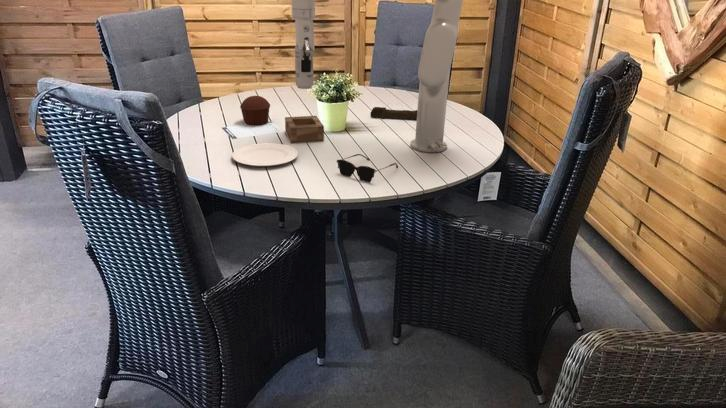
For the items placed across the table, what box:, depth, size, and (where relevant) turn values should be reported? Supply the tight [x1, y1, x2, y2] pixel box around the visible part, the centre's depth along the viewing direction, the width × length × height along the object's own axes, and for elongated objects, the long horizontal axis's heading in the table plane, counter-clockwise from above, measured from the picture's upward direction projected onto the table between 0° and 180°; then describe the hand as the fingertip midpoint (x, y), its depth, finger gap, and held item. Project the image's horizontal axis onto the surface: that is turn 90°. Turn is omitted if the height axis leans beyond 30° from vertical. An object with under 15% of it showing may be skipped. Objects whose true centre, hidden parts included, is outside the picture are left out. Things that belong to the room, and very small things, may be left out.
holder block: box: [284, 115, 325, 144], centre depth 192 cm, size 14×12×6 cm
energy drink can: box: [294, 43, 314, 90], centre depth 183 cm, size 6×6×15 cm
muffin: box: [239, 95, 271, 127], centre depth 205 cm, size 12×11×10 cm
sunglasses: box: [336, 153, 399, 184], centre depth 164 cm, size 14×16×5 cm
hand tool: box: [370, 106, 417, 122], centre depth 217 cm, size 19×4×5 cm, turn 84°
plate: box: [231, 142, 299, 168], centre depth 172 cm, size 21×21×2 cm
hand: (304, 69), depth 183 cm, fingers closed on energy drink can, 6 cm apart
